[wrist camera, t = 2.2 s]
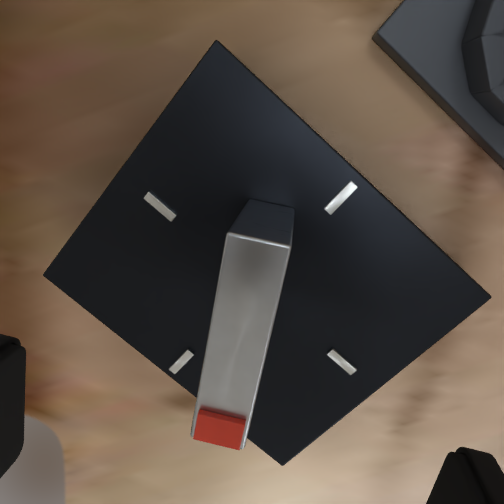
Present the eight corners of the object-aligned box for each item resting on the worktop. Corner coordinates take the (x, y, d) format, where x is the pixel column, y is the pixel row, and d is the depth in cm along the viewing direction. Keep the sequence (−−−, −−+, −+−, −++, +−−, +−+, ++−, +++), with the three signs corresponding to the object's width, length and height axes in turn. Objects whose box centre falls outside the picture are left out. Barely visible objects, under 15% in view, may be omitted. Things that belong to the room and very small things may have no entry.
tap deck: (77, 254, 21) (39, 276, 18) (230, 51, 17) (215, 37, 14) (285, 423, 22) (282, 469, 20) (464, 270, 19) (494, 299, 16)
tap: (248, 198, 16) (224, 234, 11) (295, 208, 16) (292, 248, 11) (218, 354, 18) (187, 443, 13) (259, 364, 18) (243, 457, 13)
